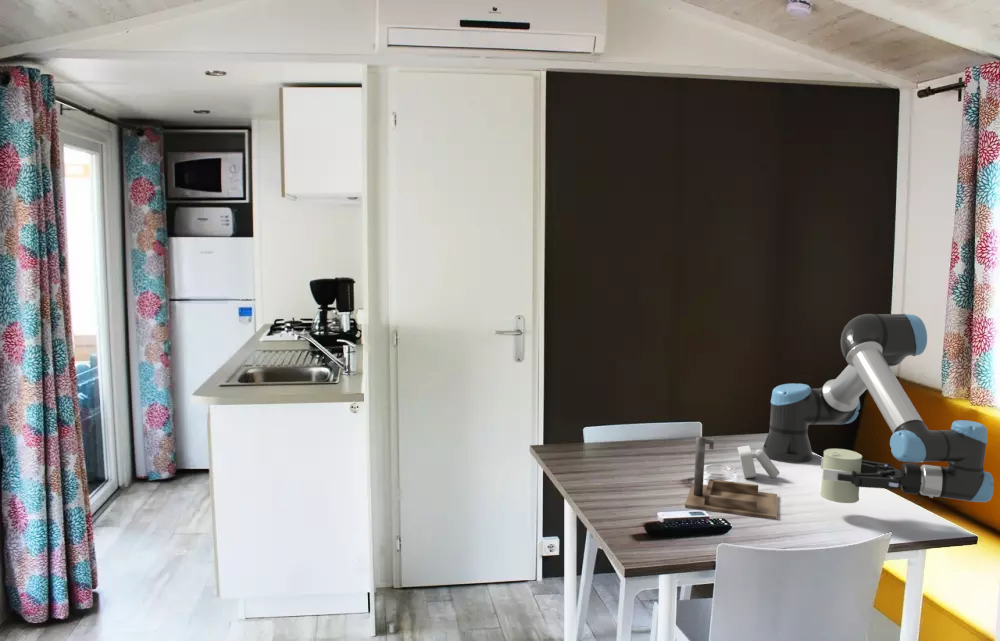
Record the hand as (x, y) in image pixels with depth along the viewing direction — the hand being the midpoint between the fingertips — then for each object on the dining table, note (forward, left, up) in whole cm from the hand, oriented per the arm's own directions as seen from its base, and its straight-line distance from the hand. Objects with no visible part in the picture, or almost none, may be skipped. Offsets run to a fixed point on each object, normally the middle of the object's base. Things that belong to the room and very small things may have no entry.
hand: (822, 468), depth 201 cm
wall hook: (-12, -28, -13) cm, 33 cm away
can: (-3, +4, -7) cm, 9 cm away
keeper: (+12, -18, -12) cm, 25 cm away
